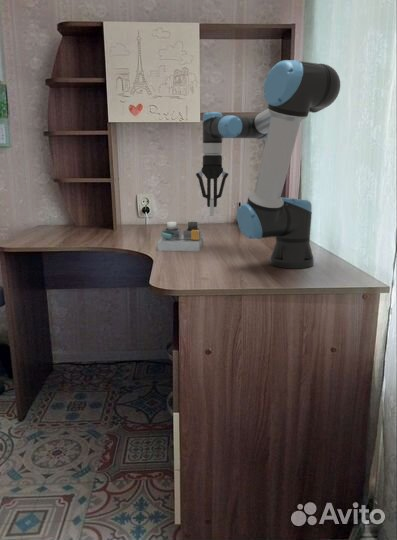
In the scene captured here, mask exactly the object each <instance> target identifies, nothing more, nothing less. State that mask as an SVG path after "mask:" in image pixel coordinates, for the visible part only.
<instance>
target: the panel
mask: <svg viewBox="0 0 397 540" xmlns="http://www.w3.org/2000/svg"><path fill="white" fill-rule="evenodd" d="M197 230H199V240H194V239H191V231H192V230H188V227H186V228H184V230H183V234H182V227H177V229H176V230H168V229H167V227H165V228H164V229H162V233H166V234H171V235H172V237H171V239H170V238H166V237H160V239H159V238H158V240H157V251H159V252H160V251H161V252H164V251H165V252H200V250H201V249H202V247H203V245H204V235H203V228H201V227H199V228H198V227H197ZM162 233H161V234H162Z"/></svg>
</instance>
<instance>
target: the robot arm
mask: <svg viewBox="0 0 397 540" xmlns="http://www.w3.org/2000/svg"><path fill="white" fill-rule="evenodd" d="M340 91H341V80H340V76H339V73H338V72H337V71H336V69H335V68H334V67H332V66H330V65H329V64H325V63H316V62H310V61H309V62H308V61H304V60H303V61H301V60H297V59H296V60H295V59H293V60H290V59H289V60H288V59H284V60H281V61H279V62H277V63H276V64H275V65H274V66H273V67H271V69H270V70H269V71H268V73H267V76H266V78H265V81H264V86H263V93H264V96H263V97H264V100H265V101H266V102H267V104H268V107H267V109H265V110H263V111H261V112H260V113H258V114H256V115H254V116H237V115H230V114H229V115H225V116H224V115H223V114H222V112H221V111H220V112H218V111H210V112H209V111H208V112H204V113H203V116H202V154H203V156H202V167H201V170H200V171H199V172H197V173H195V175H196V178H197V179H198V183H199V187H200V190H201V194H202V198H204V199H206V206H207V208H209V216H213V217H214V215H215V208H217V206H218V199H219V198H222V195H223V191H224V187H225V182H226V180H227V177H228V176H229V173H228V172H226V171H224V168H223V156H222V155H221V154H223V139H255V140H256V139H257V140H261V139H265V144H264V148H263V152H262V157H261V162H260V166H259V170H258V173H257V177H256V183H255V187H254V191H253V192H251V193H250V194H249V195H248V198H247V201H246V203H242V204H241V205H239V207H238V209H237V212H236V213H237V214H236V220H237V225H238V229H239V230H240V232H241V233H242V235H243V236H244V237H245V238H247V239H248V240H252V239H253V240H260V239H267V238H275V244H274V245H273V248H272V251H271V254H270V257H269V264H270V265H272V266H274V267H278V268H282V269H306V268H307V269H308V268H311V267H312V266H314V263H315V260H314V259H315V258H314V254H313V251H312V247H311V243H310V242H311V241H310V240H311V226H312V225H311V224H312V213H313V212H312V203H311V202H310V200H307V199H299V198H290V197H283V196H282V193H283V190H284V185H285V183H286V179H287V174H288V172H289V166H290V163H291V160H292V156H293V152H294V148H295V146H296V145H295V144H296V141H297V136H298V132H299V128H300V126H301V123H302V121H303V120H305V119H306V118H308V115H309V113H313V114H316V113H318V112H320V111H322V110H324V109H326V108H328V107H329V106H331V105H332V104H333V103H334V102H335V101H336V99H337V98H338V96H339V94H340ZM203 175H204V177H205V178H206V182H207V183H206V188H207V189H206V188H205V185H204V181H203V180H204V179H203ZM220 176H221V177H222V179H221V183H220V186H219V191H218V179H219V177H220ZM212 180H213V198H211V195H212V194H211V191H212V190H211V188H212V187H211V185H212Z"/></svg>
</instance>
